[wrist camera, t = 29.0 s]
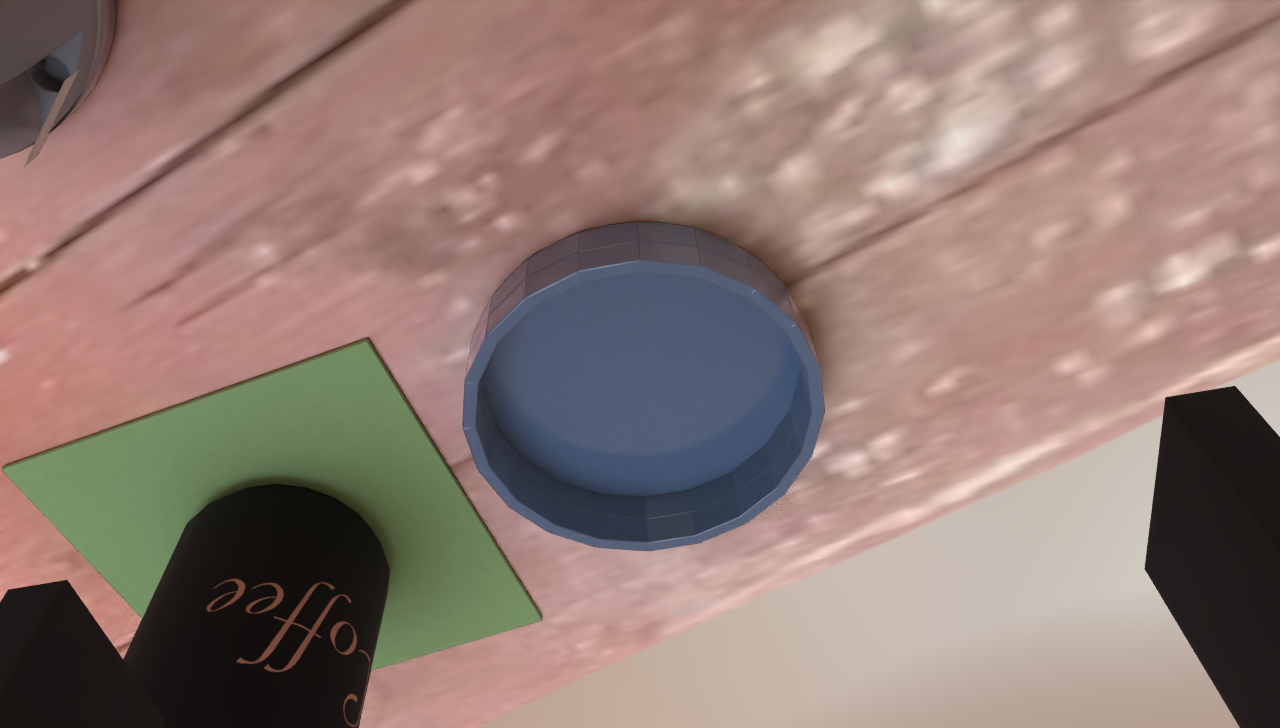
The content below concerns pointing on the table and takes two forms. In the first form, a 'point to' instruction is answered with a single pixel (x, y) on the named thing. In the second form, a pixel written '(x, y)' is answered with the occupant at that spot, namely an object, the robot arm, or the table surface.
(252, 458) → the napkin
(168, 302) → the table surface
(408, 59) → the table surface
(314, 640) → the coffee jar
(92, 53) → the robot arm
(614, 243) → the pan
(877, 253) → the table surface
